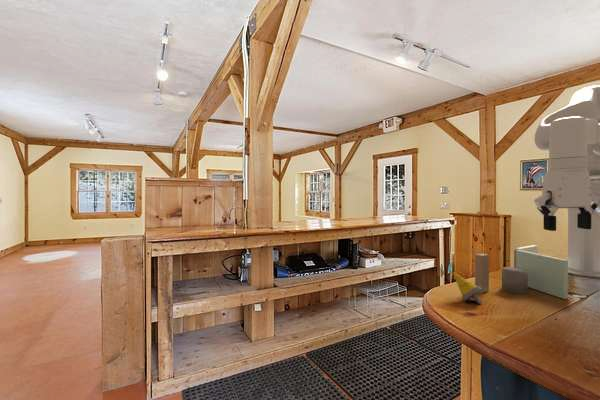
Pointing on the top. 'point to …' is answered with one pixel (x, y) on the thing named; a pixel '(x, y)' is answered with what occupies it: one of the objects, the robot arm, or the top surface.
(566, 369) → the top surface
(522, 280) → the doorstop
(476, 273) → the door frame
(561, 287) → the door
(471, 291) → the drill bit
